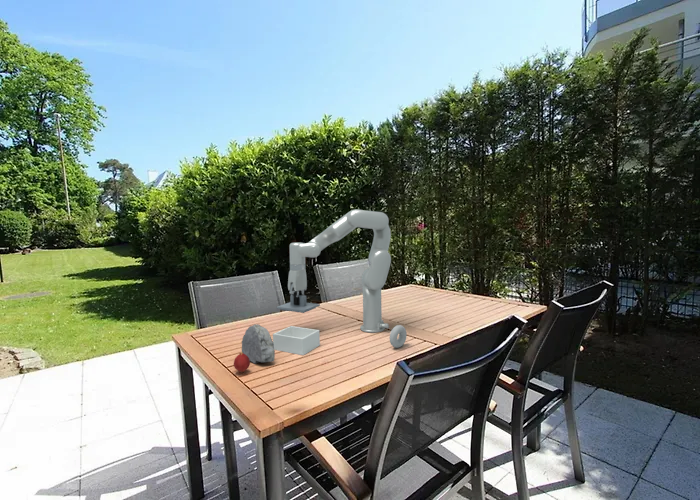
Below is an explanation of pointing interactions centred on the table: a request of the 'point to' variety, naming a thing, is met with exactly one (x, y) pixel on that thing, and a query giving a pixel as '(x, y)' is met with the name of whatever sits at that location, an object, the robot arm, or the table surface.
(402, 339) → the donut
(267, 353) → the decorative rock
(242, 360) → the onion
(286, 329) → the tub
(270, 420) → the table surface
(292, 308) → the lid
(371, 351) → the table surface
